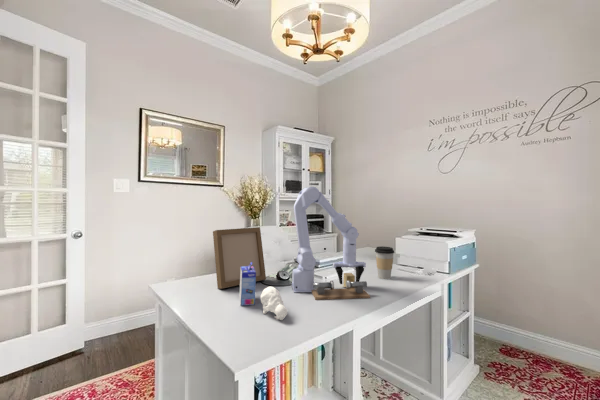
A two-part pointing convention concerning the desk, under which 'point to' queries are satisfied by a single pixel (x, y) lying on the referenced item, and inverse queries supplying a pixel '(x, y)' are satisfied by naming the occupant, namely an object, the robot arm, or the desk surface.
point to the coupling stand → (339, 291)
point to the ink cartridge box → (247, 285)
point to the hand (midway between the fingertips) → (349, 283)
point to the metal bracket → (286, 270)
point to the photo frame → (237, 254)
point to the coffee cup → (384, 261)
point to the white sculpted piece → (273, 302)
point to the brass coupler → (348, 278)
